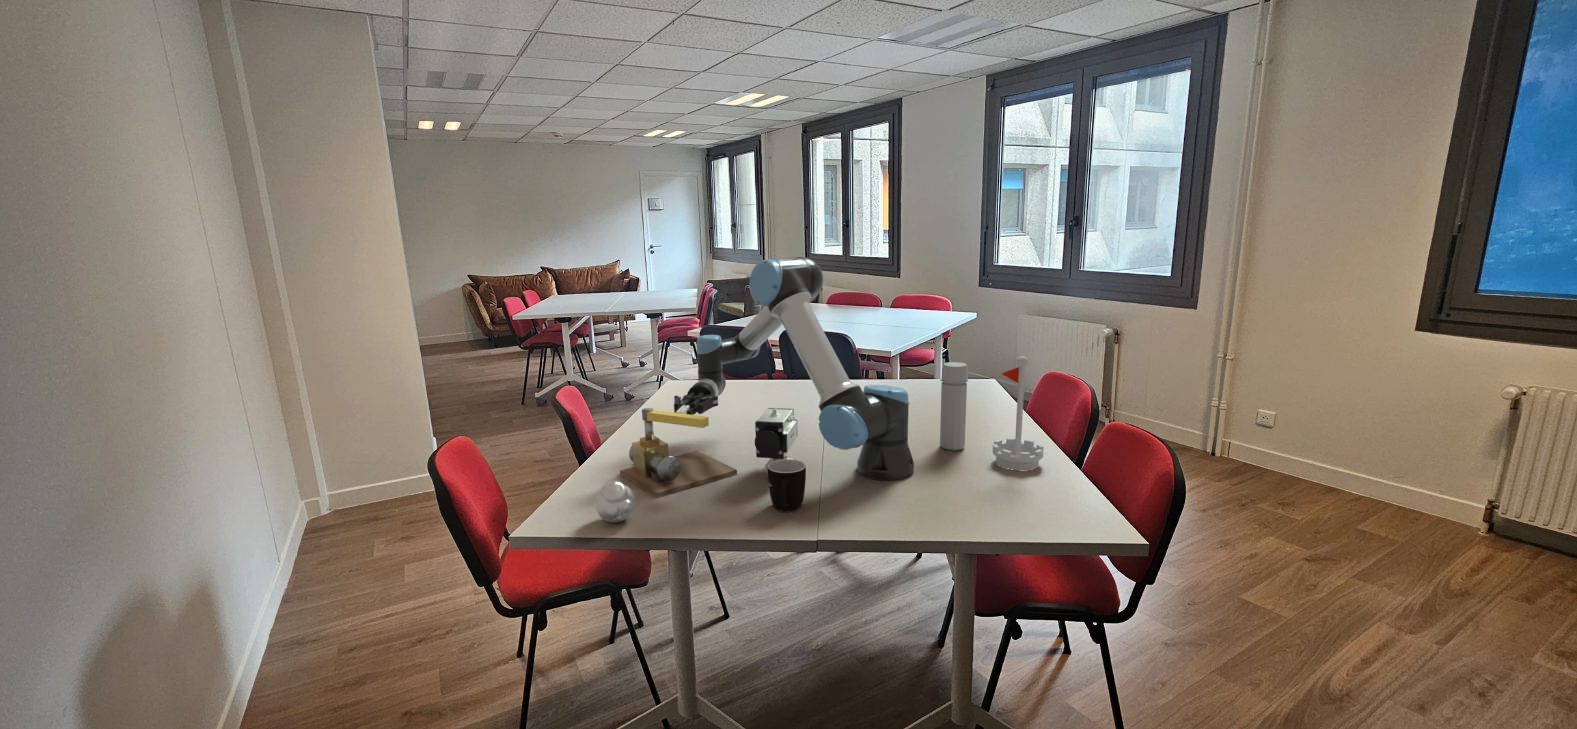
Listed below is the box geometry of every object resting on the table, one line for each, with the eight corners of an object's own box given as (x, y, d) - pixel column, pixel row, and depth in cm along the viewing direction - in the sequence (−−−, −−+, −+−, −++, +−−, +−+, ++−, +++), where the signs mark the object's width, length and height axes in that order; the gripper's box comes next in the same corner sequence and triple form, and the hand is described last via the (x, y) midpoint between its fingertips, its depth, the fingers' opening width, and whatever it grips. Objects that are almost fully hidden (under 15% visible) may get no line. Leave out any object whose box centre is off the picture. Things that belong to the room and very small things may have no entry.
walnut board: (656, 497, 163) (655, 493, 163) (620, 474, 179) (619, 470, 179) (737, 474, 178) (736, 469, 177) (697, 454, 194) (696, 450, 193)
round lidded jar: (589, 529, 146) (585, 487, 144) (606, 511, 156) (603, 471, 154) (628, 531, 145) (624, 488, 143) (643, 513, 154) (640, 472, 152)
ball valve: (787, 486, 168) (785, 419, 165) (754, 484, 170) (752, 418, 167) (801, 462, 186) (799, 400, 182) (771, 460, 187) (769, 399, 184)
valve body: (658, 486, 167) (655, 432, 164) (628, 468, 180) (625, 418, 177) (682, 479, 171) (679, 427, 168) (652, 462, 184) (649, 413, 182)
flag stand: (1044, 459, 184) (1050, 353, 178) (1040, 475, 172) (1047, 362, 166) (995, 453, 189) (1000, 350, 183) (988, 469, 177) (993, 359, 171)
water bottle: (967, 452, 191) (970, 367, 186) (939, 451, 192) (941, 366, 187) (964, 441, 200) (966, 360, 195) (937, 441, 201) (939, 360, 196)
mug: (771, 498, 161) (770, 458, 159) (808, 499, 160) (807, 459, 158) (763, 519, 150) (762, 477, 148) (803, 520, 149) (802, 478, 147)
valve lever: (640, 419, 174) (639, 410, 173) (647, 416, 176) (646, 407, 176) (702, 428, 165) (702, 418, 165) (709, 425, 168) (708, 415, 167)
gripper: (725, 406, 195) (705, 431, 172) (681, 406, 196) (655, 430, 173) (724, 382, 193) (704, 403, 170) (679, 381, 195) (653, 402, 172)
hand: (679, 417), depth 172 cm, fingers closed
